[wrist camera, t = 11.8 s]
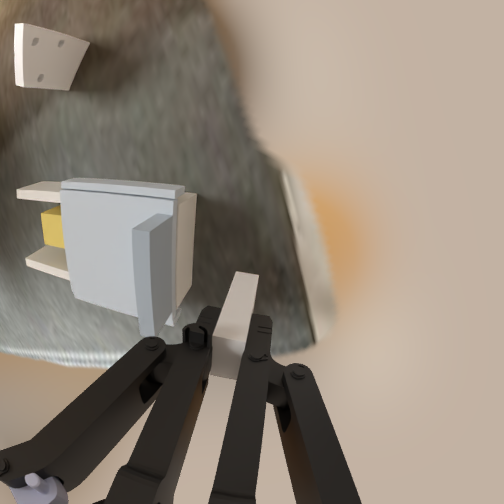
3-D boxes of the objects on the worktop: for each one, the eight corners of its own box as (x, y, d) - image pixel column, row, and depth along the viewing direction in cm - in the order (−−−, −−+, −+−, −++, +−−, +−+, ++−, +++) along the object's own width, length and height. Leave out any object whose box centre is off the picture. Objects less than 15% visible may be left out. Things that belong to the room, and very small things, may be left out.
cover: (85, 288, 24) (52, 318, 19) (75, 177, 20) (29, 191, 15) (180, 313, 24) (157, 356, 18) (185, 185, 19) (150, 202, 14)
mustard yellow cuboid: (64, 233, 26) (44, 244, 23) (61, 204, 25) (40, 213, 22) (94, 239, 26) (75, 251, 23) (92, 207, 25) (71, 216, 21)
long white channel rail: (49, 251, 27) (26, 265, 23) (42, 181, 24) (16, 189, 20) (191, 284, 26) (176, 309, 22) (197, 193, 23) (178, 204, 19)
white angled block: (96, 1, 14) (23, 23, 8) (87, 81, 22) (27, 116, 16) (76, 2, 13) (7, 24, 8) (69, 76, 21) (12, 110, 16)
